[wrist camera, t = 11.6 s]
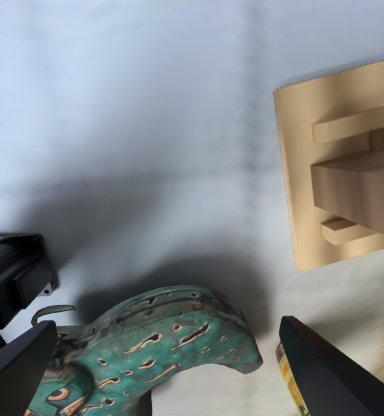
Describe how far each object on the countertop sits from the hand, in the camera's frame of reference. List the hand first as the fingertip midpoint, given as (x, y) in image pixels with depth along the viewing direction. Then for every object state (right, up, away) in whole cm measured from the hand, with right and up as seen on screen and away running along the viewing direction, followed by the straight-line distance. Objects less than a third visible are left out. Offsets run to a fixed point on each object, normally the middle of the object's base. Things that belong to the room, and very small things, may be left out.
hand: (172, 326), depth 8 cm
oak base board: (+15, +8, +13) cm, 21 cm away
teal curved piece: (+1, -16, +17) cm, 24 cm away
